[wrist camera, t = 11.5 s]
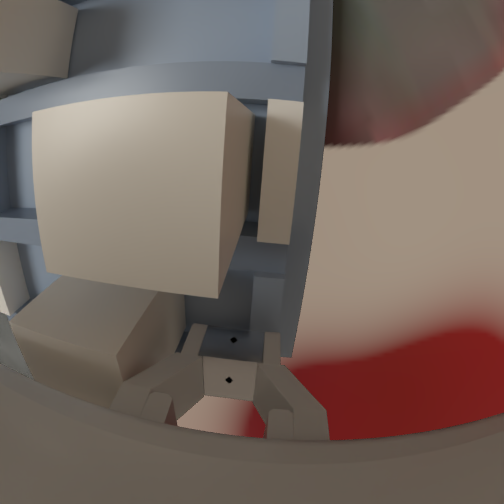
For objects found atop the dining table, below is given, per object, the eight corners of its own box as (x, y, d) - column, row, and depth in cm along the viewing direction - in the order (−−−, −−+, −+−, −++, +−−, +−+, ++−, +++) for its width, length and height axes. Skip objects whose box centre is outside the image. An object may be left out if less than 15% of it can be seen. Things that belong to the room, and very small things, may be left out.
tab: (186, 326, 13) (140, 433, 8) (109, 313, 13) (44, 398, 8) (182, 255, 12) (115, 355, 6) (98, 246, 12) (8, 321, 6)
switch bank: (290, 341, 15) (292, 388, 12) (24, 295, 15) (-4, 320, 12) (328, -20, 8) (341, -57, 5) (13, 30, 9) (-24, 24, 6)
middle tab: (248, 211, 11) (217, 298, 5) (145, 204, 11) (47, 272, 6) (255, 114, 10) (227, 91, 4) (146, 114, 10) (32, 111, 4)
